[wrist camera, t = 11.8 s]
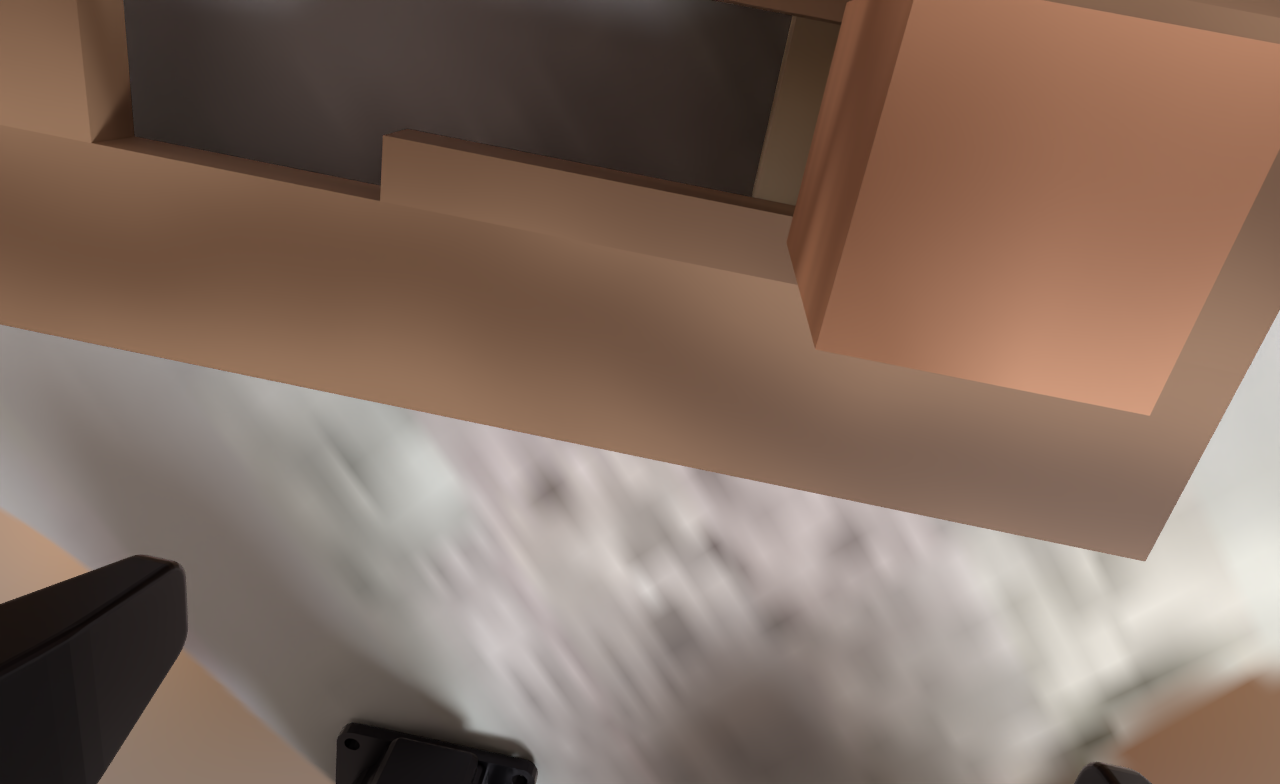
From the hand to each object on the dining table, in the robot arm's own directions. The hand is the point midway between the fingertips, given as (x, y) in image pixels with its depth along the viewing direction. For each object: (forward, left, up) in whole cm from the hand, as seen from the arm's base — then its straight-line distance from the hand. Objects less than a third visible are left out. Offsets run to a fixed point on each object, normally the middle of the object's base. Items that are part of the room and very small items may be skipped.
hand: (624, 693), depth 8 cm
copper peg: (+5, -3, -13) cm, 14 cm away
